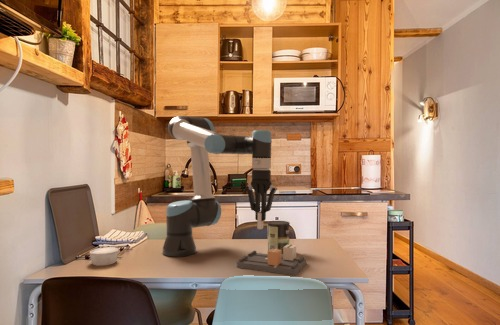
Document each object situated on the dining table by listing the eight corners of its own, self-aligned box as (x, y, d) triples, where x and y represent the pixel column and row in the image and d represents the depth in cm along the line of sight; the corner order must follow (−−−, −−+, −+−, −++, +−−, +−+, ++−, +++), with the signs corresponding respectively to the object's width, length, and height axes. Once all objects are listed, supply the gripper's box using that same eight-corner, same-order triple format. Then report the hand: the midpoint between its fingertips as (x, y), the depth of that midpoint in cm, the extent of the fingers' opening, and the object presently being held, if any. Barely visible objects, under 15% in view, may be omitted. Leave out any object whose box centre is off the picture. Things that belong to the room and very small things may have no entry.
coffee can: (290, 250, 162) (290, 220, 162) (288, 256, 151) (288, 224, 151) (268, 249, 164) (268, 220, 164) (265, 255, 154) (265, 223, 153)
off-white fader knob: (283, 259, 139) (283, 246, 139) (286, 256, 143) (287, 244, 143) (292, 260, 137) (292, 247, 137) (296, 257, 142) (296, 245, 142)
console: (236, 267, 136) (236, 259, 136) (253, 256, 151) (253, 250, 151) (294, 275, 126) (294, 267, 126) (306, 263, 141) (306, 256, 141)
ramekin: (90, 260, 145) (90, 248, 145) (118, 258, 149) (118, 245, 149) (88, 268, 135) (88, 254, 135) (118, 265, 139) (118, 252, 139)
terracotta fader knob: (267, 264, 132) (267, 251, 132) (272, 261, 136) (272, 248, 136) (277, 265, 130) (277, 252, 130) (281, 262, 135) (281, 249, 135)
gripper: (242, 169, 135) (241, 228, 135) (273, 170, 129) (272, 232, 130) (250, 168, 142) (249, 225, 142) (280, 169, 136) (278, 228, 137)
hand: (260, 228), depth 136 cm, fingers closed
